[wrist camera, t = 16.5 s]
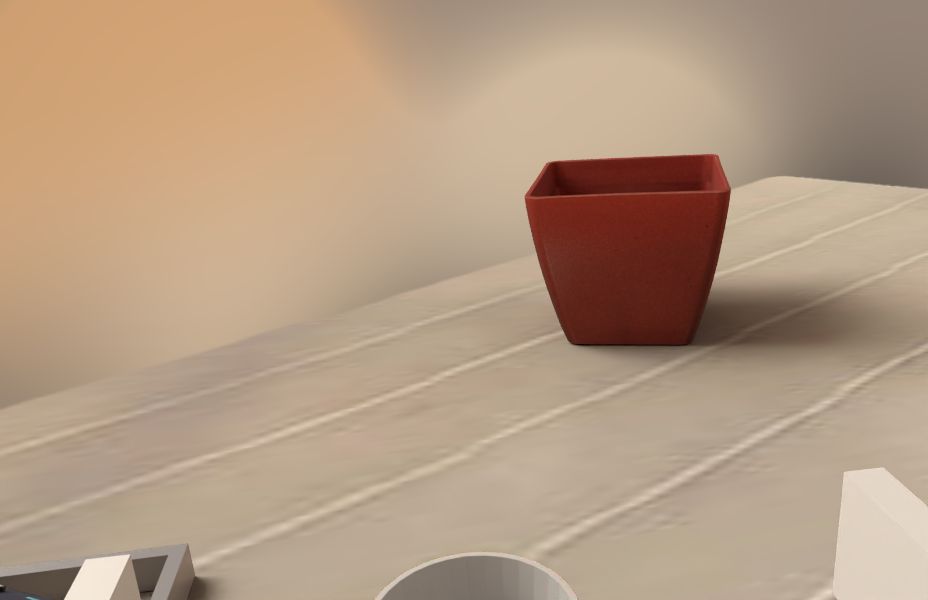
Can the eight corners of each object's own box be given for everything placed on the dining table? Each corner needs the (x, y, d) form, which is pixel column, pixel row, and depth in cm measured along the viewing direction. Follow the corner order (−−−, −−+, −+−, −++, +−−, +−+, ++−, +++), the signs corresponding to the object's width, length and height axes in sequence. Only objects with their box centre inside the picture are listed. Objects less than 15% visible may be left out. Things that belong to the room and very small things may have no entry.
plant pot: (729, 359, 80) (732, 187, 74) (533, 358, 84) (522, 196, 79) (716, 295, 97) (717, 152, 92) (554, 297, 102) (547, 161, 96)
